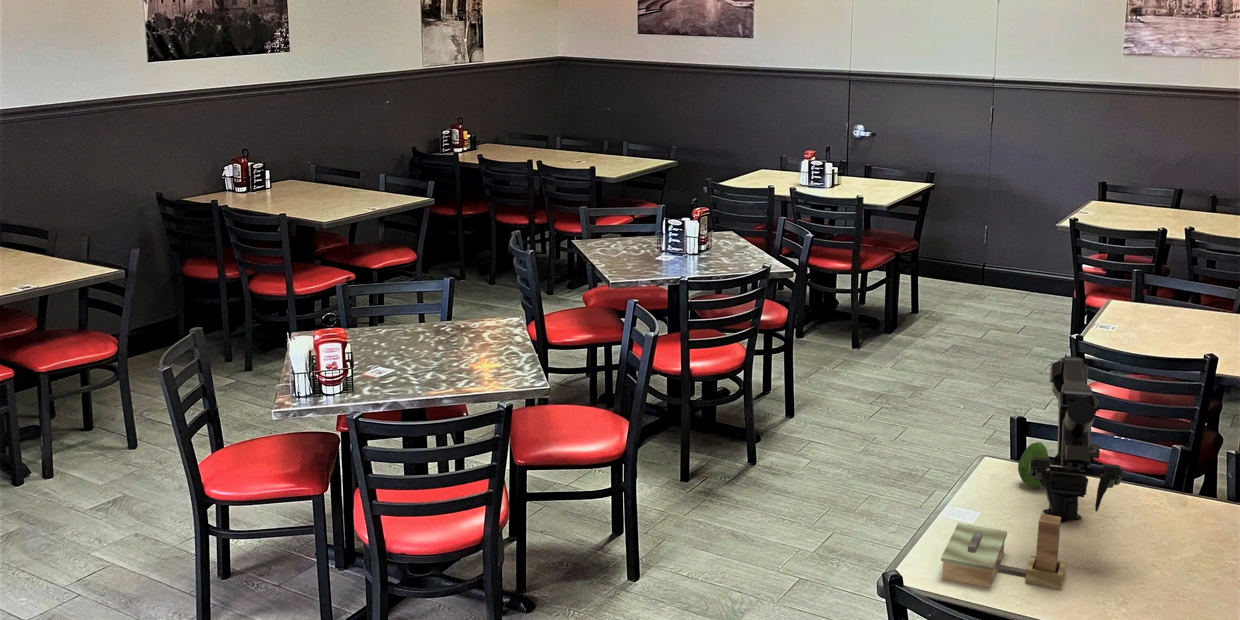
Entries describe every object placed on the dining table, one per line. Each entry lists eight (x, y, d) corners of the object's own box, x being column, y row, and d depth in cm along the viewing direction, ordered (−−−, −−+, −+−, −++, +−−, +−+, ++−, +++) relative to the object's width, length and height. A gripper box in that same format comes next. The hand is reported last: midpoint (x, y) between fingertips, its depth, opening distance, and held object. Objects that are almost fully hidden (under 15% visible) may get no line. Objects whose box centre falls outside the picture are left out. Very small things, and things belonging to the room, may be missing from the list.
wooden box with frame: (956, 542, 262) (958, 517, 261) (1067, 562, 252) (1070, 537, 250) (939, 578, 246) (941, 552, 245) (1057, 602, 236) (1059, 575, 234)
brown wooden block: (1036, 572, 248) (1041, 513, 244) (1056, 576, 246) (1061, 516, 243) (1034, 580, 245) (1038, 521, 241) (1053, 584, 243) (1058, 524, 239)
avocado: (1050, 482, 294) (1053, 439, 291) (1049, 494, 287) (1053, 450, 284) (1017, 478, 297) (1020, 435, 293) (1015, 490, 289) (1019, 446, 286)
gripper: (1033, 423, 249) (1030, 491, 243) (1126, 432, 243) (1125, 502, 237) (1030, 441, 259) (1027, 507, 252) (1119, 450, 253) (1118, 517, 247)
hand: (1073, 508), depth 247 cm, fingers open, 9 cm apart
